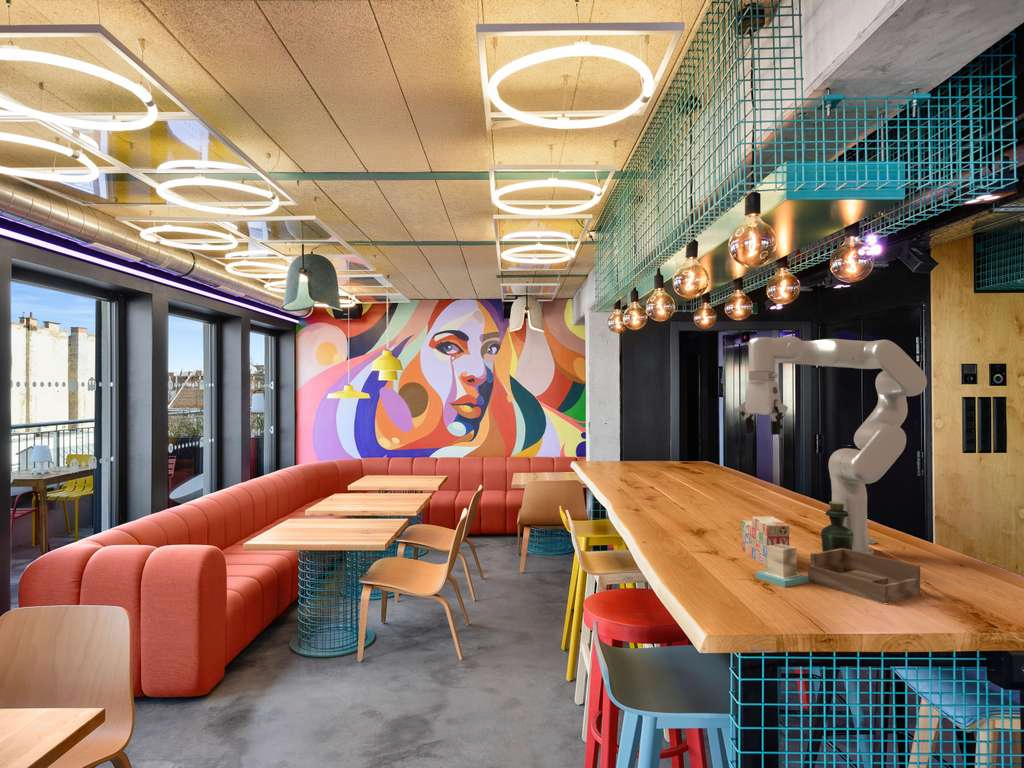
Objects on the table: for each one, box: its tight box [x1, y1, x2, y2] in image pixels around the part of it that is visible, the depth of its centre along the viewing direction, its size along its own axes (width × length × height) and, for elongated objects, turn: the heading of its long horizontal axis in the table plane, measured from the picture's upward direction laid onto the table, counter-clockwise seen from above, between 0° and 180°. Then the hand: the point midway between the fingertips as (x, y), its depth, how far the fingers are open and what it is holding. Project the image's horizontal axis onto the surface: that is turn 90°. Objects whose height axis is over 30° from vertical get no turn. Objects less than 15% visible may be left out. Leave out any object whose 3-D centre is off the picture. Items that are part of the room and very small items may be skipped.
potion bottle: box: [820, 501, 853, 552], centre depth 175 cm, size 8×8×18 cm
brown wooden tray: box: [807, 548, 921, 604], centre depth 156 cm, size 14×20×7 cm
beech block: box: [766, 544, 798, 578], centre depth 163 cm, size 5×5×7 cm
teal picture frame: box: [755, 569, 810, 588], centre depth 163 cm, size 9×9×2 cm
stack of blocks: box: [741, 516, 790, 569], centre depth 185 cm, size 21×6×12 cm, turn 178°
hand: (762, 433), depth 192 cm, fingers open, 9 cm apart
